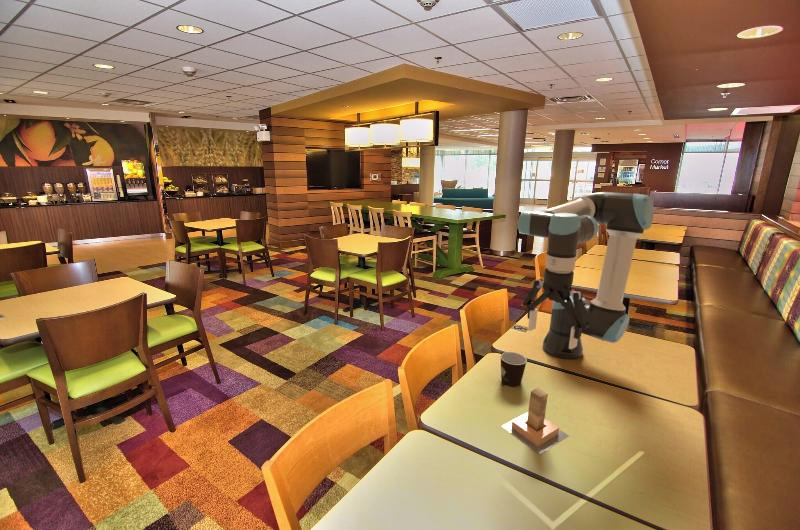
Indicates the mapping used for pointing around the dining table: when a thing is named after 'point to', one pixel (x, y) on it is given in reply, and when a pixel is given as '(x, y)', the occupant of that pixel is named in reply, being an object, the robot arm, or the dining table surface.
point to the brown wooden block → (537, 409)
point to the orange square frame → (532, 435)
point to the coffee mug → (512, 368)
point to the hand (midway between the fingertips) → (551, 338)
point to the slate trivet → (539, 449)
